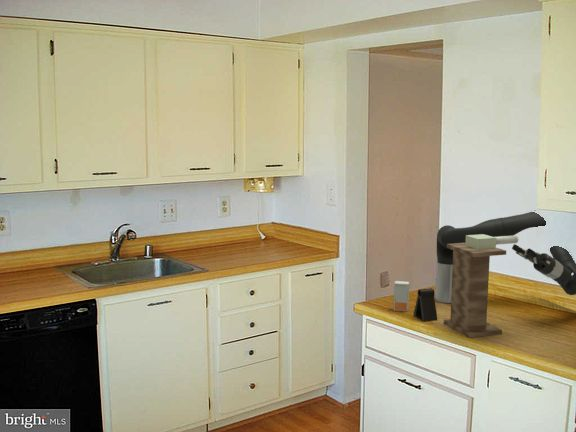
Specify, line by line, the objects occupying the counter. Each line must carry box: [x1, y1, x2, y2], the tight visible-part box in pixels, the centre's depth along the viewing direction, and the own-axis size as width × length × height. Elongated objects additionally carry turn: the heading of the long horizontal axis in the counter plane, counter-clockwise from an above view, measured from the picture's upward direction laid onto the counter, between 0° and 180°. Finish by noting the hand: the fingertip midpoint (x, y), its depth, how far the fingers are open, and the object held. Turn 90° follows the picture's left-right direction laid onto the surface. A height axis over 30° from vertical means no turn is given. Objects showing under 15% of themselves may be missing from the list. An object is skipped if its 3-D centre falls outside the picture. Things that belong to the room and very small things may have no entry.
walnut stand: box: [443, 243, 507, 338], centre depth 262 cm, size 18×14×32 cm
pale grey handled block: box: [465, 234, 519, 250], centre depth 262 cm, size 8×20×4 cm, turn 110°
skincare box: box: [392, 280, 410, 313], centre depth 288 cm, size 6×4×12 cm
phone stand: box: [412, 288, 438, 322], centre depth 277 cm, size 9×6×12 cm, turn 17°
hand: (520, 248), depth 266 cm, fingers open, 8 cm apart
